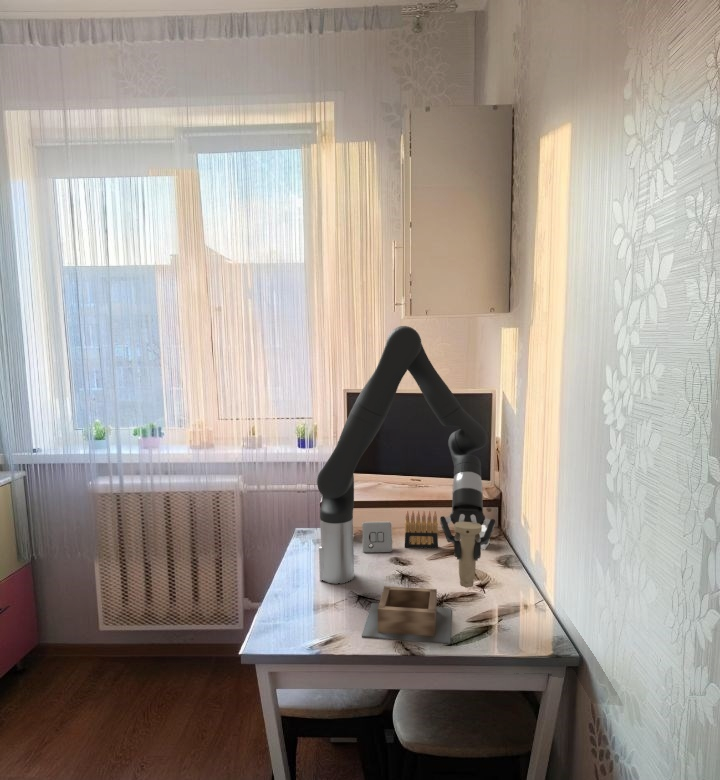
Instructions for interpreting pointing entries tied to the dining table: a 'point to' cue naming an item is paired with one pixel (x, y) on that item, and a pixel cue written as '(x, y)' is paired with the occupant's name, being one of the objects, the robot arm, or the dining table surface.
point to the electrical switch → (377, 536)
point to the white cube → (483, 536)
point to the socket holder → (408, 616)
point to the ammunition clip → (421, 531)
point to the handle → (467, 551)
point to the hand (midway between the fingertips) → (467, 558)
